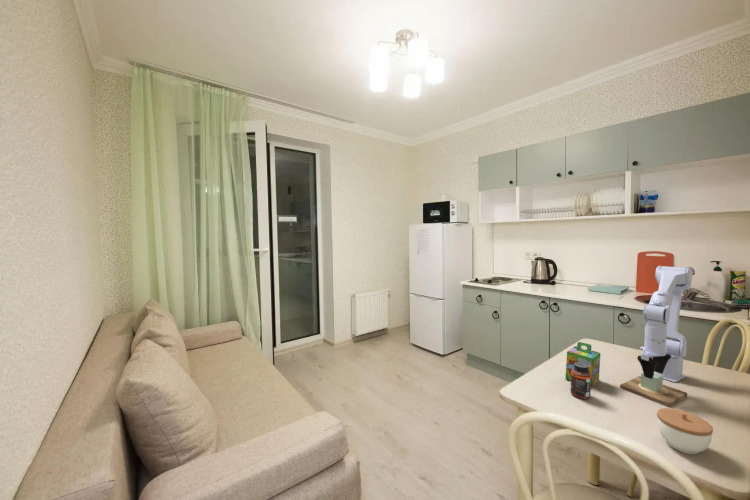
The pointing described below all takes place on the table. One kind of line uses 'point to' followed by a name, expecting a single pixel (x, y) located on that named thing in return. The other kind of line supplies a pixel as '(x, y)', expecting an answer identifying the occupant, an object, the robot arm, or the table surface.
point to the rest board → (663, 396)
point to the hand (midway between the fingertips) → (653, 375)
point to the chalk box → (583, 361)
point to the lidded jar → (684, 430)
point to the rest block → (652, 382)
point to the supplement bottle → (580, 381)
